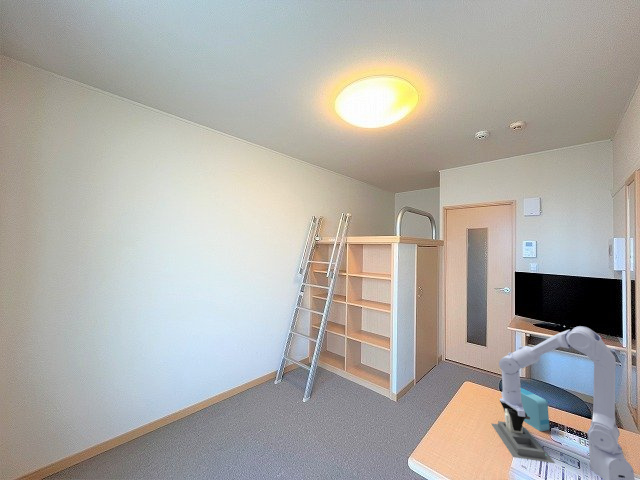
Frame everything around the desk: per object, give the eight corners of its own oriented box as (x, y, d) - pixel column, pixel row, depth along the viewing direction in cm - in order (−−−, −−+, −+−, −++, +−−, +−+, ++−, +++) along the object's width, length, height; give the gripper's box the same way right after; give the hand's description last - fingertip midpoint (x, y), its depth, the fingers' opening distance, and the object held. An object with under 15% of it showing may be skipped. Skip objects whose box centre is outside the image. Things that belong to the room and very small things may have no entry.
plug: (534, 439, 97) (532, 416, 98) (508, 436, 99) (507, 413, 99) (528, 432, 101) (526, 410, 101) (504, 429, 103) (502, 408, 103)
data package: (550, 432, 102) (547, 400, 103) (540, 434, 101) (538, 401, 102) (521, 415, 114) (519, 386, 115) (512, 416, 113) (510, 387, 114)
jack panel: (555, 466, 85) (554, 456, 86) (513, 460, 88) (512, 450, 89) (525, 430, 104) (524, 422, 104) (491, 425, 107) (490, 418, 107)
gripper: (492, 379, 109) (494, 414, 108) (508, 396, 95) (510, 436, 94) (511, 381, 108) (514, 416, 107) (530, 399, 94) (533, 439, 93)
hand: (513, 426), depth 100 cm, fingers open, 5 cm apart
